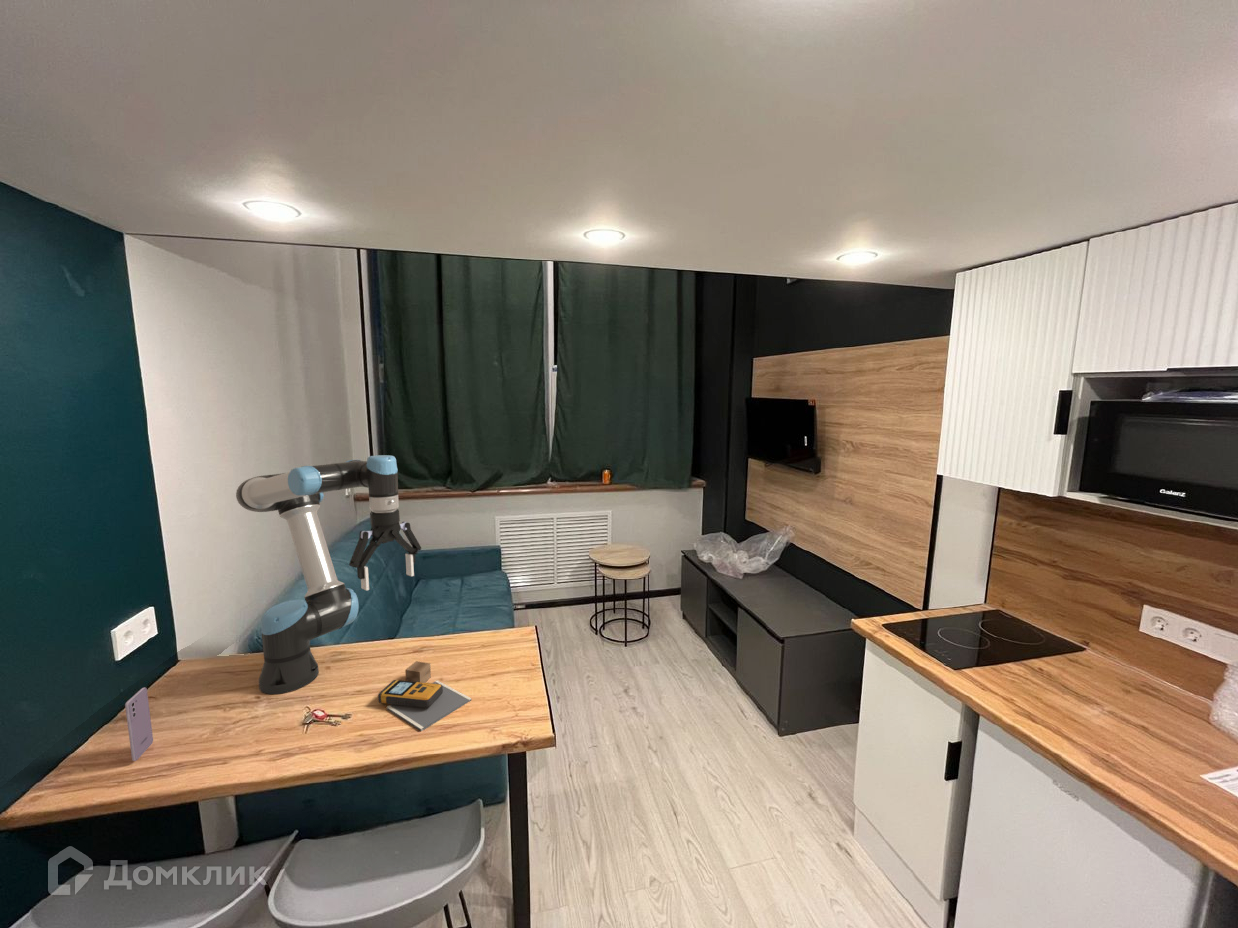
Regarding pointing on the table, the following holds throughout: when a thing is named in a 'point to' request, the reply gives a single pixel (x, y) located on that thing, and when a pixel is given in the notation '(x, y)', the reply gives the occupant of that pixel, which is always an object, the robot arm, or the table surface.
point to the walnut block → (418, 672)
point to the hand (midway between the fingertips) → (388, 581)
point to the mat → (431, 708)
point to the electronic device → (410, 693)
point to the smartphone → (139, 723)
